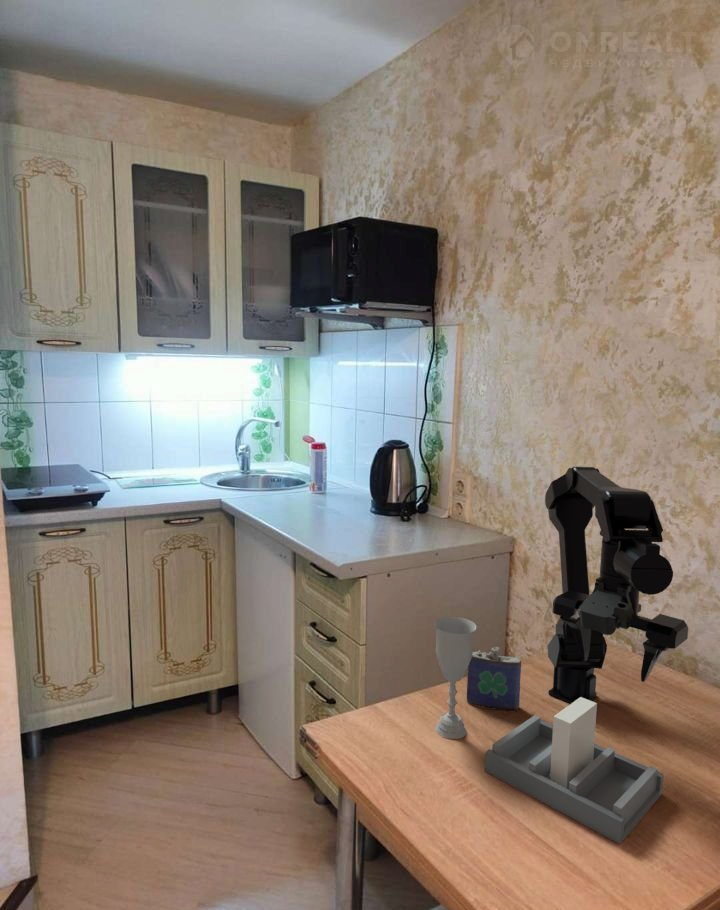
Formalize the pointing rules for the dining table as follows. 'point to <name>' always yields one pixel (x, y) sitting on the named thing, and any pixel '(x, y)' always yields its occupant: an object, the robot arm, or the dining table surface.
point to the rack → (577, 780)
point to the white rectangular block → (572, 740)
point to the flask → (494, 681)
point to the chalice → (453, 666)
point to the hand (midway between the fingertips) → (613, 670)
